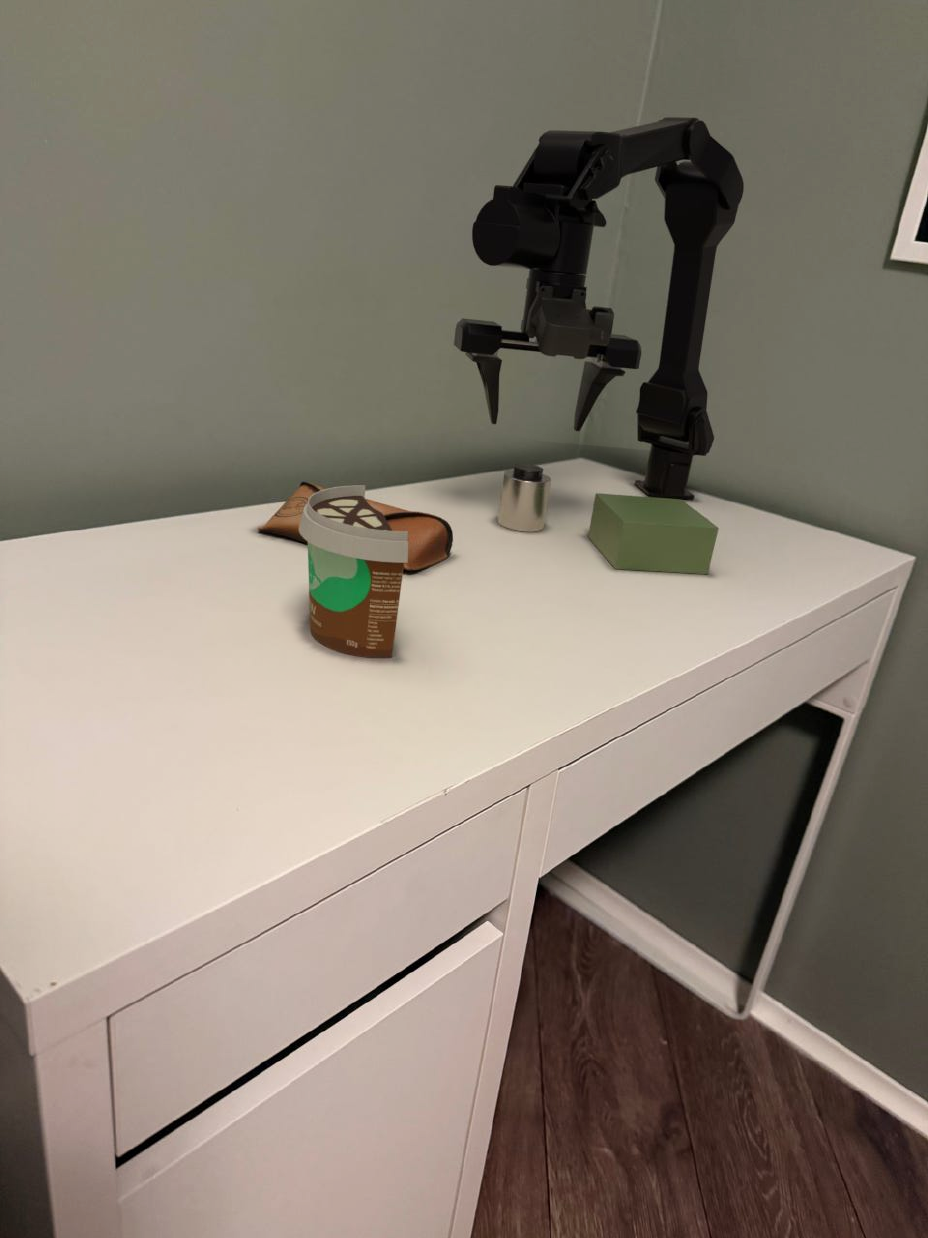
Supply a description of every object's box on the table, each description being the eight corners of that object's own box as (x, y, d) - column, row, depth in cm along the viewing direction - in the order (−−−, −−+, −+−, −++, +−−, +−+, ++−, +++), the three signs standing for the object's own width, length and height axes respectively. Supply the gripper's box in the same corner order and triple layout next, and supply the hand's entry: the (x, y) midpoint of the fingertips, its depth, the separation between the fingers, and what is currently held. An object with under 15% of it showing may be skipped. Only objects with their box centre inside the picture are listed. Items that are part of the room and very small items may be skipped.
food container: (281, 602, 72) (285, 482, 68) (355, 599, 74) (363, 483, 70) (312, 672, 62) (320, 534, 58) (397, 666, 64) (410, 534, 60)
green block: (587, 536, 98) (595, 492, 96) (672, 542, 100) (682, 499, 98) (614, 569, 89) (624, 521, 87) (707, 574, 91) (719, 527, 89)
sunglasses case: (250, 527, 86) (272, 463, 87) (285, 547, 93) (306, 487, 94) (414, 572, 80) (437, 503, 81) (439, 590, 87) (460, 526, 87)
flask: (493, 515, 102) (501, 459, 99) (537, 518, 102) (546, 463, 100) (502, 530, 97) (510, 471, 94) (548, 533, 98) (557, 475, 95)
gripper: (479, 265, 80) (460, 437, 87) (674, 287, 84) (642, 451, 90) (461, 259, 90) (445, 414, 97) (636, 280, 94) (610, 428, 100)
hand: (535, 427), depth 95 cm, fingers open, 9 cm apart
